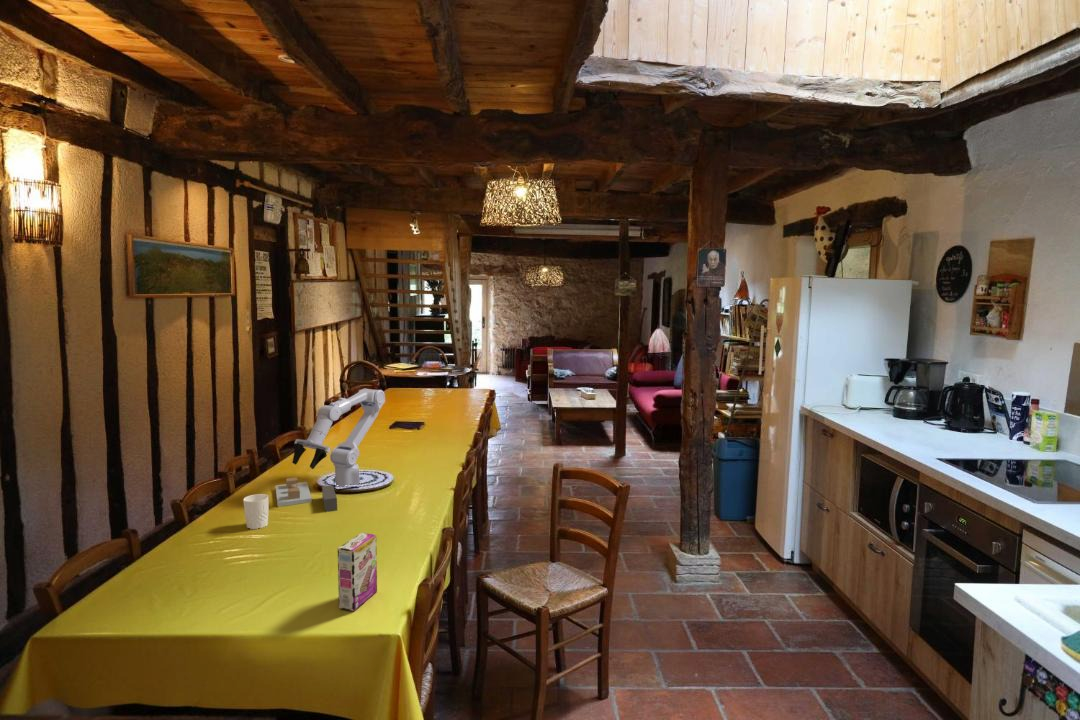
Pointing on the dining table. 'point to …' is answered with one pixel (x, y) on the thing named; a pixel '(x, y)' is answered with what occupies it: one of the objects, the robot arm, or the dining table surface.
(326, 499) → the gray rectangular block
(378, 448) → the dining table surface
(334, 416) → the robot arm
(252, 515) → the white cup
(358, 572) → the candy bar box
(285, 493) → the display stand
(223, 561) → the dining table surface
